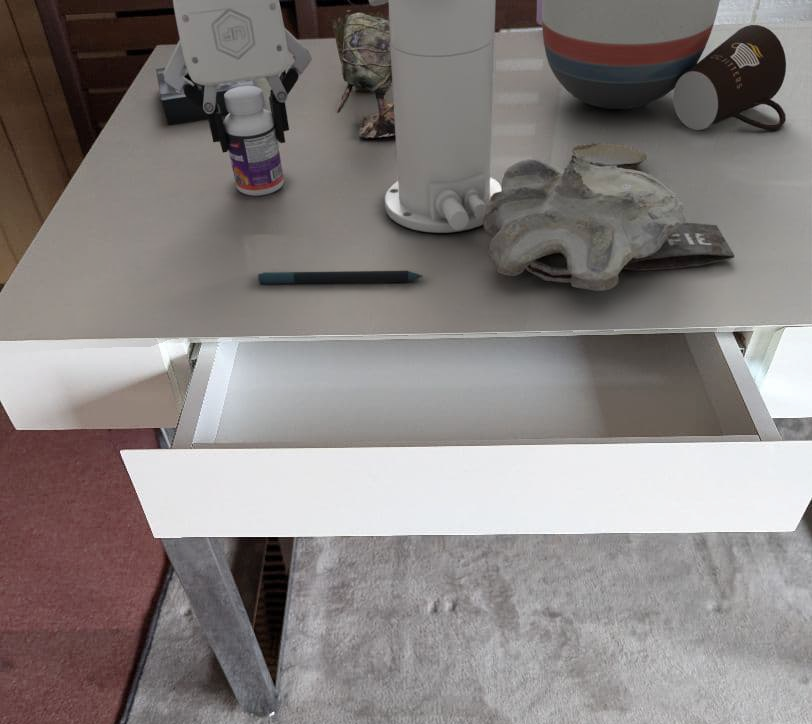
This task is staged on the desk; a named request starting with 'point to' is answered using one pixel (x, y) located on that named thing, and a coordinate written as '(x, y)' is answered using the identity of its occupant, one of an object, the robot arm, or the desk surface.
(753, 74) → the coffee mug
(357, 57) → the plant with pod
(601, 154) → the seashell
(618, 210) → the fossil
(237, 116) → the pill bottle
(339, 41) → the green rounded lump
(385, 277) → the pen
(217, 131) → the robot arm
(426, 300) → the desk surface
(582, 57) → the planter
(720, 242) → the dark snack bar packet
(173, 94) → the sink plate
